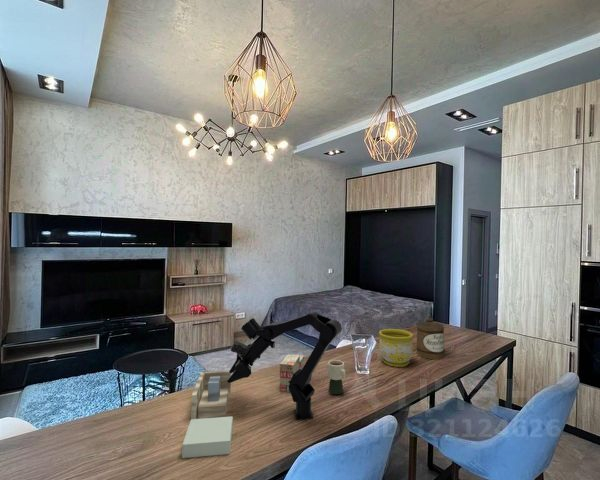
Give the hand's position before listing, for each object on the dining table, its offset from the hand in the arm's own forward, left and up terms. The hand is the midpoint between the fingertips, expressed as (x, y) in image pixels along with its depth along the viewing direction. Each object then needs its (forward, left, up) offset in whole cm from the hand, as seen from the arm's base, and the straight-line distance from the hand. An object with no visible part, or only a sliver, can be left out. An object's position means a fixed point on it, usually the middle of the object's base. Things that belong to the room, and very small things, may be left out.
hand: (228, 377), depth 126 cm
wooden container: (+45, -113, -12) cm, 123 cm away
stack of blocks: (+19, -28, -12) cm, 36 cm away
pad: (-22, +5, -12) cm, 25 cm away
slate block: (0, +6, -8) cm, 9 cm away
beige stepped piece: (+3, +6, -12) cm, 14 cm away
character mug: (+6, -45, -12) cm, 47 cm away
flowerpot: (+36, -87, -12) cm, 95 cm away
